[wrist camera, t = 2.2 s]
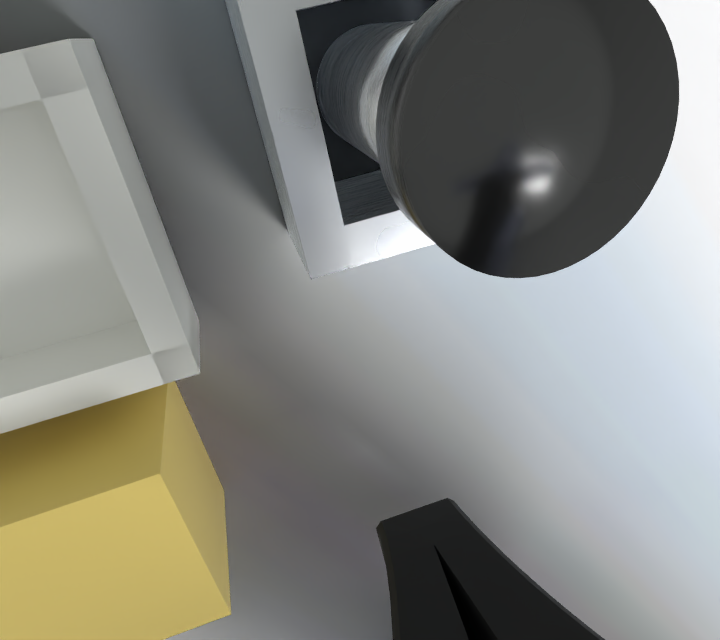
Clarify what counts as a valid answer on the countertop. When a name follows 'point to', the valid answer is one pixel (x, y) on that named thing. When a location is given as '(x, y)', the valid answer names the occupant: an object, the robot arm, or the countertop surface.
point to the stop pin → (510, 122)
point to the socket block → (311, 150)
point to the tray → (80, 246)
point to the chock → (111, 524)
